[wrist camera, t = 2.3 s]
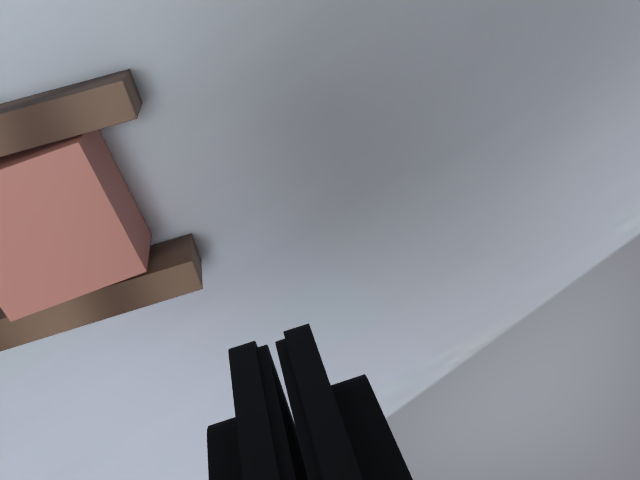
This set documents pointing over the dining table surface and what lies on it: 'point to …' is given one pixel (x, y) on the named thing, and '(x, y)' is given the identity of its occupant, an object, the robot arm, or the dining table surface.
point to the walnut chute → (164, 258)
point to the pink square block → (65, 225)
